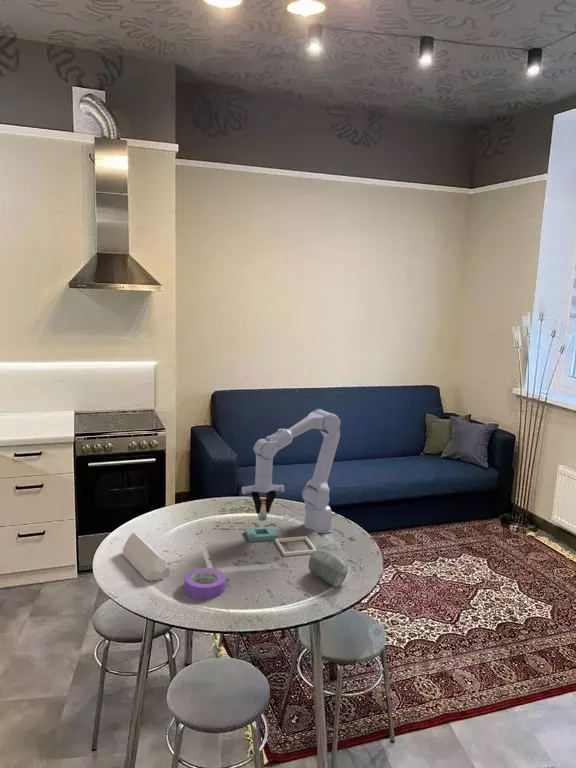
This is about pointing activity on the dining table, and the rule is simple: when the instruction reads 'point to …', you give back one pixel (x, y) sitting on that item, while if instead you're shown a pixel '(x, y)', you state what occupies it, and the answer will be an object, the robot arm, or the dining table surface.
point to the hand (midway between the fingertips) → (262, 512)
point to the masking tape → (204, 590)
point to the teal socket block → (261, 533)
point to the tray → (295, 551)
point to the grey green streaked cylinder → (328, 567)
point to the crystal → (145, 559)
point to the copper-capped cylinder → (262, 509)
